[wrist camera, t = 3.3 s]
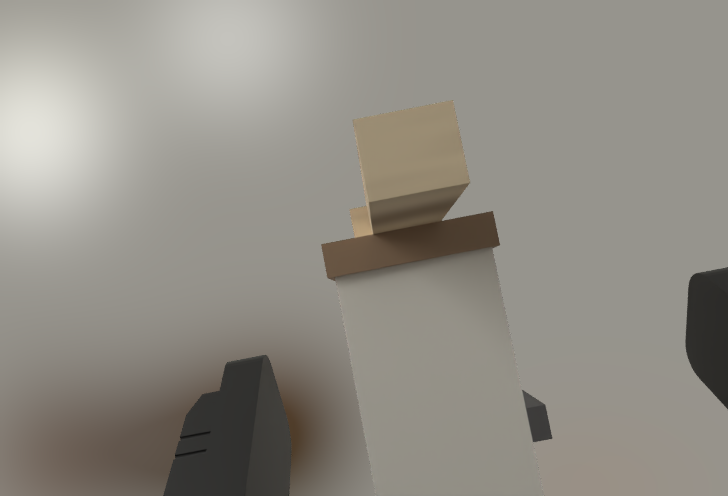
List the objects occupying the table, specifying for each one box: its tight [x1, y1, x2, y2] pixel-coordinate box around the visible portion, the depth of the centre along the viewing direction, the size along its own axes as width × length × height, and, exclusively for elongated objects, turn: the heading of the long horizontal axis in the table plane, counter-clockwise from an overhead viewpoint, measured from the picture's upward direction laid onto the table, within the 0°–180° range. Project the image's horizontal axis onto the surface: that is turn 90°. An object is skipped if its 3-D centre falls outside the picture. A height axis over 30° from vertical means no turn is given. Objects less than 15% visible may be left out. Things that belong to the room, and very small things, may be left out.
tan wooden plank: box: [350, 100, 470, 238], centre depth 29 cm, size 22×5×2 cm, turn 178°
